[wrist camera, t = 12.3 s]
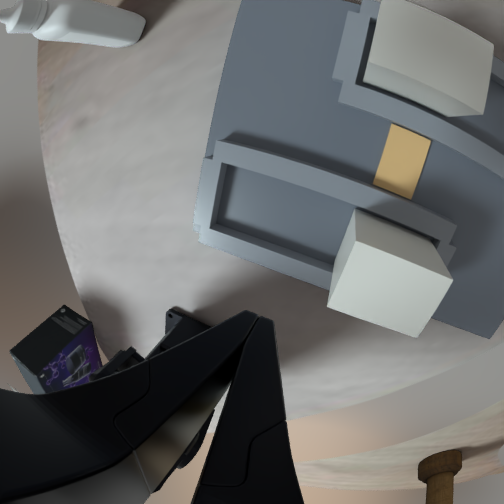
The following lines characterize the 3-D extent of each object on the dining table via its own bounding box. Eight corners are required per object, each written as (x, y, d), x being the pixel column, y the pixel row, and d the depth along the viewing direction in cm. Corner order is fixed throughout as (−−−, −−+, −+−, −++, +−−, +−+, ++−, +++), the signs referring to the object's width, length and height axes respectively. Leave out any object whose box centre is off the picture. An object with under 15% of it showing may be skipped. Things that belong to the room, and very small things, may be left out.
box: (113, 391, 41) (73, 437, 30) (86, 372, 42) (46, 414, 32) (94, 323, 33) (33, 378, 22) (64, 302, 34) (6, 348, 24)
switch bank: (483, 328, 17) (492, 348, 14) (202, 224, 21) (185, 237, 19) (566, 131, 8) (584, 135, 6) (253, -5, 13) (240, -20, 11)
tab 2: (405, 286, 16) (416, 338, 12) (334, 260, 17) (326, 306, 13) (429, 238, 15) (453, 280, 10) (354, 208, 15) (355, 240, 11)
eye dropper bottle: (120, 66, 18) (-13, 66, 7) (96, 33, 17) (-20, 28, 6) (154, 26, 16) (18, -1, 5) (125, -3, 15) (9, -27, 4)
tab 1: (446, 117, 12) (483, 114, 7) (362, 82, 12) (367, 61, 8) (457, 64, 10) (494, 44, 6) (374, 29, 11) (382, -8, 6)
